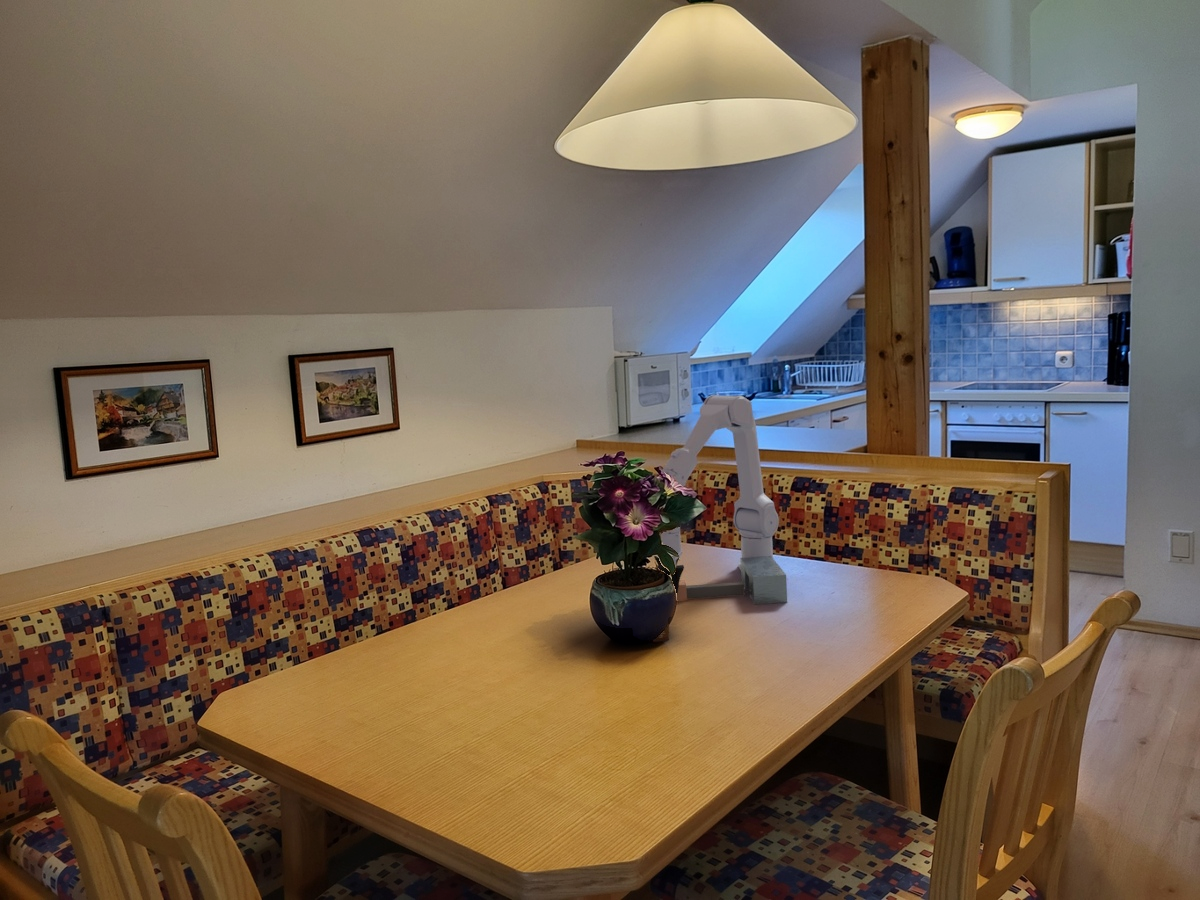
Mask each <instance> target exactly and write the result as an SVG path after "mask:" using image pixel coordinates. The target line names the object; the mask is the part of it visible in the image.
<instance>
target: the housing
mask: <svg viewBox="0 0 1200 900" xmlns="http://www.w3.org/2000/svg"><path fill="white" fill-rule="evenodd" d="M739 558H740V564H741V570H740V577H741V579H740V580H741V581H740V582H743V584H744V591H749V592H748V593H749V598H750V599H751V602H752V603H753V604H754V605H766V604H780V603H784V604H785V603H788V592H787V591H788V587H787V583H788V582H787V574H786V573H785V571H784V570H783V569H782V567H781V566H780V565H779V564H778V562H777V561H776V560H775V559H774V557H773V558H772V557H771V556H761V557H746V558H742V557H739Z"/></svg>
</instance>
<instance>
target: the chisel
mask: <svg viewBox="0 0 1200 900" xmlns="http://www.w3.org/2000/svg"><path fill="white" fill-rule="evenodd" d="M739 596H745V588H744V584H743V582H741V581H737V582H736V581H735V582H734V581H733V582H721V583H720V582H718V583H706V584H703V583H702V584H691V585H687V583H686V581H685V580H681V579H680V580H679V587H678V594H677V600H678V601H677V602H679V601H681V602H682V601H688V600H694V599H710V598H712V599H713V598H725V597H739Z"/></svg>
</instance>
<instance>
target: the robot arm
mask: <svg viewBox="0 0 1200 900" xmlns="http://www.w3.org/2000/svg"><path fill="white" fill-rule="evenodd" d="M756 425H757V424H756V420H755V417H754V413H753V405H752V402H751V400H749V399H747V398H746V397H744V396H743V395H736V396H731V395H730V396H729V395H715V394H711V395H709V396H707V397H706V398H705V400H704V401H703V404H702V405H701V406H700V408H699V417H698V420H697V421H696V423H695V425H694V426H693V429H692V430H691V432H690V434H689V436H688V438H687V439H686V441H685V444H684V445H683V446H682V447H680V448H676V449H675V450H673V451H672V452H671V454H670V458H669V459H668V460H667V462H666V463H665V465H664V466H663V468H662V470H663V471H664V472H665V473H666V474H668V475H671V476H673V477H674V478H675V479H676V480H677V482H678V483H679V484H681V485H683V486H685V487H686V484H687V481H688V479H689V477H690V476H691V474H692V473H693V471H694V470H695V468H696V467H697V465H698V458H697V455H698V454H699V453H700V451H701V450H702V449H703V447H704V446H705V445H706V444H707V442H708V441H709V439H711V437H712V436H713V434H714V433H715V432H716V431H718V430H721V429H726V430H729V431H730V432H731V433H732V437H733V445H734V446H733V447H734V454H735V463H736V470H737V478H738V487H739V495H740V496H739V498H738V499H737V500H736V501H735V502H734V505H733V506H734V512H733V525H734V527H735V529H736V530H737V531H738V534H739V535H741V537H740V539H741V540H740V552H741V558H746V557H761V556H771V557H772V558H773V559H774V555H773V554H774V553H773V552H774V549H773V536H775V533H776V531H777V530H778V527H779V523H780V518H779V515H778V513H777V511H776V508H775V502H774V501H773V500H771V498H769V497H768V496H767V495H766V494H765V493H764V485H763V477H762V475H763V474H762V467H761V458H760V457H761V456H760V450H759V449H760V448H759V442H758V433H757V426H756ZM661 540H662V542H663V544H665V545H667V546H669V547H671V548H673V549H674V550H675V551H676V552H677V553H678V555H679V557H675V556H672V557H673V560H674V563H675V567H676V572H675V574H674V575H672V581H673V584H674V586H675V589H676V593H677V594H678V587H679V581H681V576H682V574H683V571H684V569H685V566H684V564H680V565H678V562H679V559H680V558H681V556H682V555H683V549H682V540H681V526H680V527H678V528H675V529H673V530H671V531H667V532H663V533H662V534H661ZM653 557H654V560H655V563H656V564H657V566H656V567H657V569H658V568H659V569H660V570H662V571H664V572H665V573H666V574H668V575H670V572H669V571H668V570H667V569H666V568H664V567H663V566H662V565H661V563H660V561H659V558H658V557H657V556H653ZM737 567H738V568H739V570H740V571H741V563H737Z"/></svg>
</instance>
